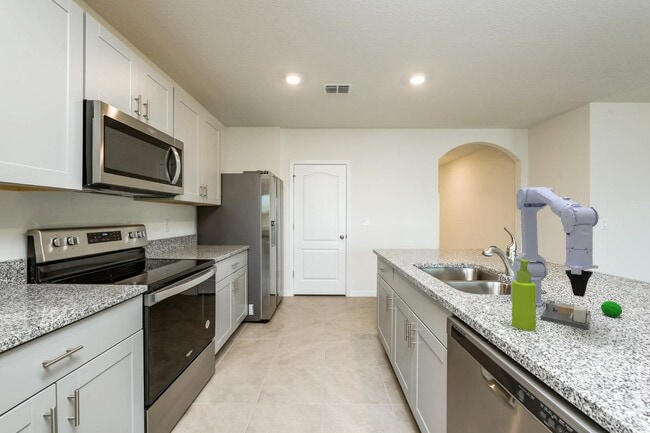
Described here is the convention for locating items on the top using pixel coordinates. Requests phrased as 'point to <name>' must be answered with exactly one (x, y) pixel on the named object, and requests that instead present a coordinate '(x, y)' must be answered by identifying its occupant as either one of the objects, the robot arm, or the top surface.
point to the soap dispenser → (524, 299)
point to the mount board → (563, 315)
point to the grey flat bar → (563, 306)
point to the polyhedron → (611, 309)
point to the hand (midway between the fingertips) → (578, 296)
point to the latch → (580, 314)
